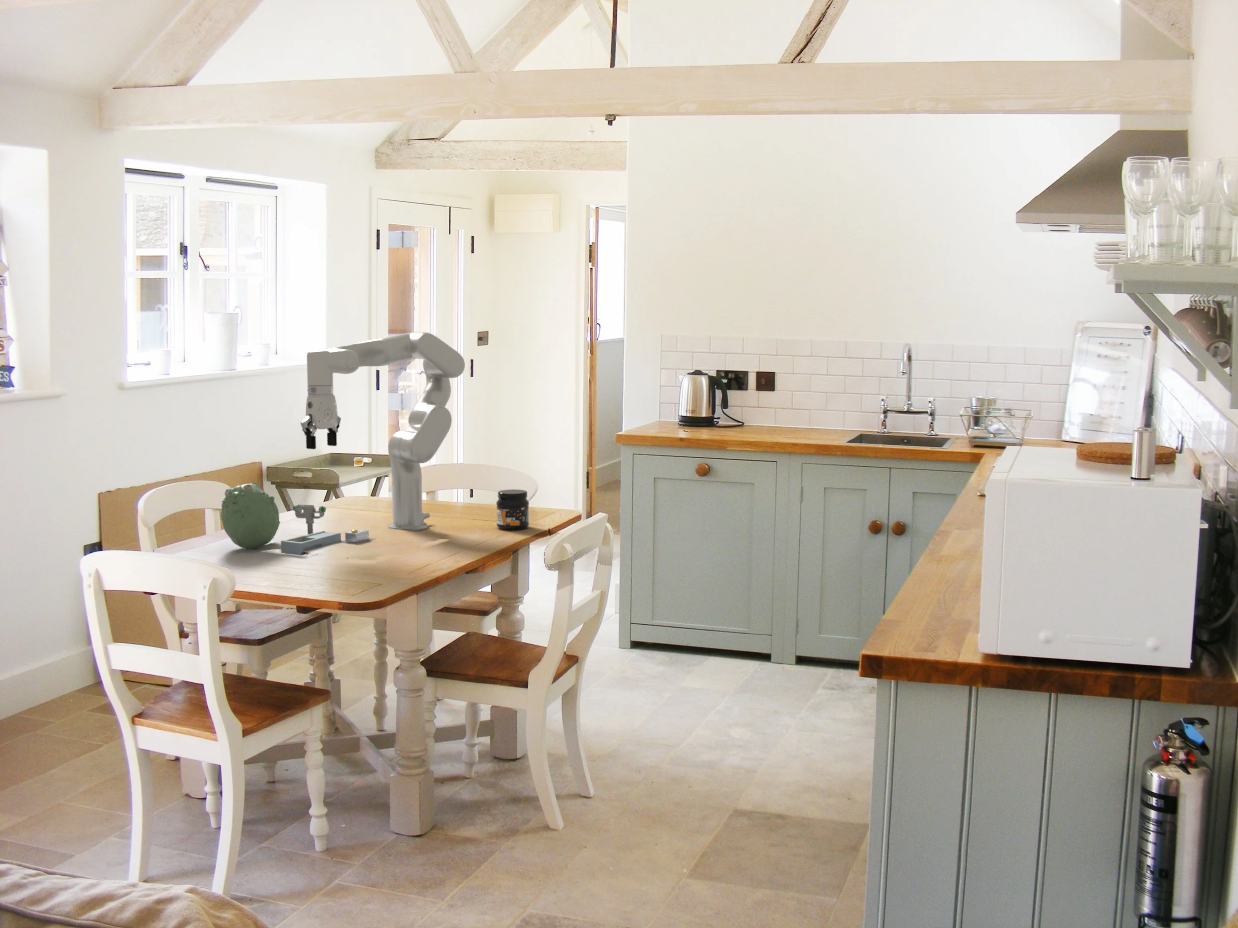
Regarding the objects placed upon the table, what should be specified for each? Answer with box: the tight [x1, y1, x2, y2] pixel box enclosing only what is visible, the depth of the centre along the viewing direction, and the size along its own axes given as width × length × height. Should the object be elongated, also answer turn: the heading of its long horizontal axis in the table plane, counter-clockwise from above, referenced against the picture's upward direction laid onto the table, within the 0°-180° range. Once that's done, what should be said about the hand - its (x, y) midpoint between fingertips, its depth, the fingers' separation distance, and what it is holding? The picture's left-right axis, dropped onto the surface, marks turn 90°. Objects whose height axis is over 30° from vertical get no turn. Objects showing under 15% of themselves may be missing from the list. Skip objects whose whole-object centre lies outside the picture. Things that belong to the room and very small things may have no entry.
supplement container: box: [495, 488, 530, 531], centre depth 388 cm, size 10×10×12 cm
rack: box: [280, 530, 342, 556], centre depth 356 cm, size 18×8×4 cm, turn 153°
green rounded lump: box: [220, 481, 281, 550], centre depth 354 cm, size 16×19×20 cm
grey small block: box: [344, 528, 370, 543], centre depth 362 cm, size 6×4×3 cm, turn 153°
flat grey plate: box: [339, 537, 375, 545], centre depth 362 cm, size 9×7×1 cm
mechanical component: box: [292, 504, 327, 535], centre depth 372 cm, size 3×10×10 cm, turn 78°
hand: (321, 447), depth 364 cm, fingers open, 9 cm apart
